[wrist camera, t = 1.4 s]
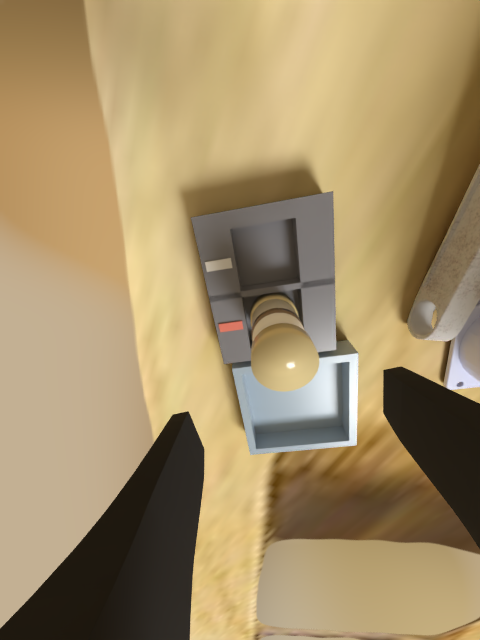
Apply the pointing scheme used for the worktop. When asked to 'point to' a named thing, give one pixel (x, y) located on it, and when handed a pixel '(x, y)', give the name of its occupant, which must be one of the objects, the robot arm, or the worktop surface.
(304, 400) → the parts tray
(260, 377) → the cylinder
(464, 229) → the wrench
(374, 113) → the worktop surface
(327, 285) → the fuse block
